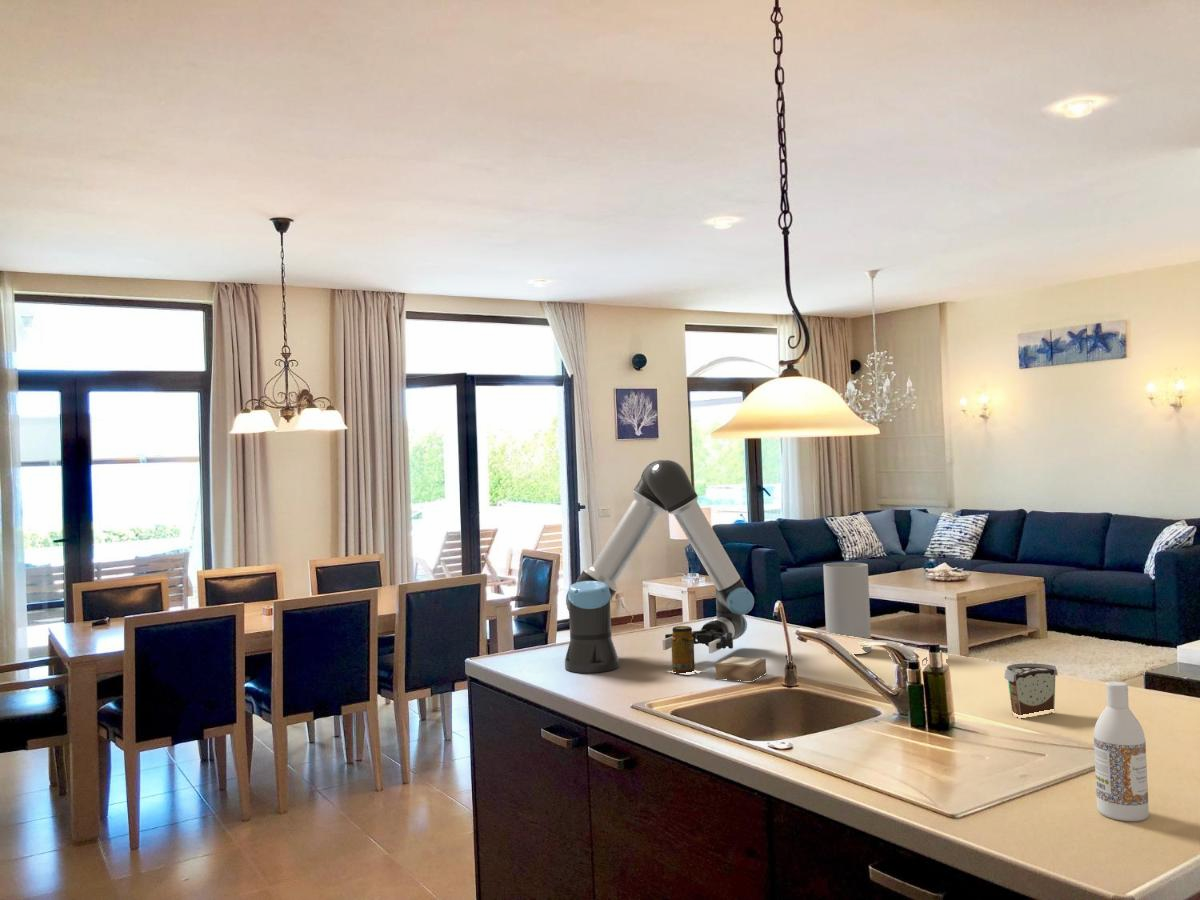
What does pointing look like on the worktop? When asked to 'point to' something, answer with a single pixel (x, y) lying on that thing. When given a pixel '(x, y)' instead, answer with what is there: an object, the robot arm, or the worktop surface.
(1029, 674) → the food container
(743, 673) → the plinth
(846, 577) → the cylinder vase
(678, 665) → the condiment
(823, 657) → the worktop surface
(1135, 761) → the bath foam
